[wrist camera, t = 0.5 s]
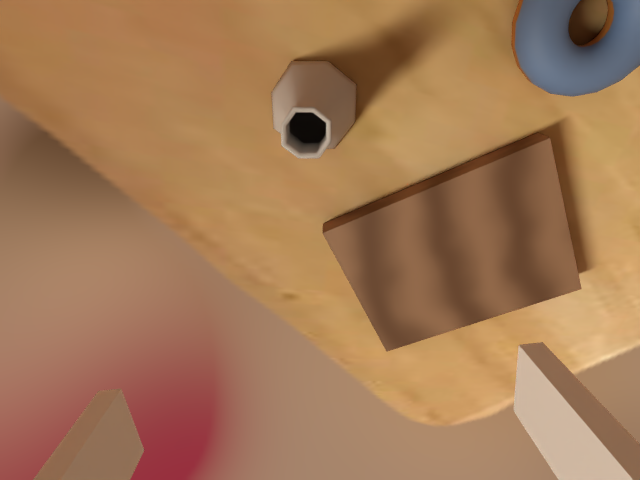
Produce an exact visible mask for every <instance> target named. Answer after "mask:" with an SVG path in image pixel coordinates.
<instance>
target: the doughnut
mask: <svg viewBox="0 0 640 480" xmlns="http://www.w3.org/2000/svg"><path fill="white" fill-rule="evenodd" d="M580 1H581V0H519V3H518V6H517V9H516V12H515V15H514V19H513V22H512V44H511V46H512V49H513V53H514V56H515V60H516V63H517V66H518V67H519V69H520V70H521V71H522V73H523V74H524V75H525V77H526V78H527V79H528V80H529V81H530V82H531V83H533V84H534V85H536V86H538V87H540V88H542V89H543V90H545V91H547V92H549V93H550V94H557V95H564V96H578V95H584V94H589V93H595V92H598V91H600V90H602V89H604V88H606V87H608V86H611V85H613V84H615V83H617V82H619V81H620V80H622V79H623V78H625V77H626V76H627V75H628V74H629V73H631V72H632V71H633V70H634V69H636V68H637V67H638V66H639V65H640V0H607V5H608V14H607V19H606V22H605V24H604V27H603V29H602V30H601V31H600V33H599V34H598V36H596V37H595V38H594V39H593V40H592V41H590V42H589V43H587V44H585V45H581V46H578V45H575V44H574V43H573V42H572V40H571V39H570V37H569V32H568V26H569V19H570V17H571V14H572V11H573V10H574V8H575V7H576V5H577V4H578V3H579V2H580Z"/></svg>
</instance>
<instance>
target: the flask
mask: <svg viewBox="0 0 640 480" xmlns="http://www.w3.org/2000/svg"><path fill="white" fill-rule="evenodd" d="M271 93H272V109H273V125H274V129H275V130H277V131H278V132H279V133H281V142H282V147H284V148H285V149H287V150H288V151H289V152H291V153H292V154H293V155H295V156H296V157H298V158H320V157H321V155H322V154H323V153H324V151H325V150H326V149H334V148H335V147H336V146H337V145H338V143H339V142H340V141H341V139H342V138H343V137H344V135H345V134H346V133H347V131H348V130H349V129H350V128H351V126H352V125H353V124H354V122H355V112H356V84H355V83H354V82H353V81H352V80H350V79H349V78H348V77H347V76H345V75H344V74H343V73H342V72H341V71H339V70H338V69H337V68H336V67H335V66H333V65H332V64H331V63H330V62H329V61H291V63H290V64H289V66H288V67H287V69H286V70H285V72H284V74H283V75H282V77H281V78H280V80H279V81H278V83H277V85H276V86H275V88H274V89H273V91H272V92H271Z"/></svg>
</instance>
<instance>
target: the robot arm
mask: <svg viewBox="0 0 640 480" xmlns="http://www.w3.org/2000/svg"><path fill="white" fill-rule="evenodd" d="M514 412H515V414H516V415H517V417H518V418H519V420H520V421H521V423H522V425H523V426H524V428H525V429H526V431H527V432H528V434H529V435H530V437H531V438H532V440H533V441H534V443H535V445H536V446H537V448H538V449H539V451H540V452H541V454H542V455H543V457H544V458H545V460H546V461H547V463H548V464H549V466H550V468H551V469H552V471H553V472H554V474H555V475H556V477H557V478H558V480H640V444H639V443H638V442H637V441H636V440H635V439H634V437H633V436H632V435H631V434H630V433H629V432H628V431H627V430H626V429H625V428H624V427H623V426H622V425H621V424H620V423H619V422H618V421H617V420H616V419H615V418H614V417H613V416H612V415H611V413H609V411H608V410H607V409H606V408H605V407H604V406H603V405H602V404H601V403H600V402H599V401H598V400H597V399H596V398H595V397H594V396H593V395H592V394H591V393H590V392H589V390H588V389H587V388H586V387H585V386H584V385H583V384H582V383H581V382H580V381H579V380H578V379H577V378H576V377H575V376H574V375H573V374H572V373H571V372H570V371H569V370H568V368H567V367H566V366H565V365H564V364H563V363H562V362H561V361H560V360H559V359H558V358H557V357H556V356H555V355H554V354H553V353H552V352H551V351H550V350H549V349H548V348H547V346H546V345H545V344H544V343H543V342H541V343H532V344H523V345H519V348H518V361H517V374H516V387H515V400H514ZM143 451H144V448H143V446H142V443H141V441H140V438H139V435H138V432H137V430H136V427H135V424H134V422H133V419H132V416H131V414H130V411H129V408H128V406H127V403H126V401H125V398H124V395H123V392H122V390H121V389H114V390H105V391H98V392H97V394H96V395H95V397H94V398H93V399H92V401H91V402H90V403H89V405H88V406H87V407H86V409H85V410H84V412H83V413H82V414H81V416H80V417H79V418H78V420H77V421H76V423H75V424H74V425H73V427H72V428H71V429H70V430H69V432H68V433H67V435H66V436H65V438H64V439H63V440H62V441H61V443H60V444H59V445H58V447H57V448H56V450H55V451H54V452H53V454H52V455H51V456H50V458H49V459H48V460H47V462H46V463H45V465H44V466H43V467H42V469H41V470H40V471H39V473H38V474H37V475H36V477H35V478H34V480H130V479H131V476H132V474H133V472H134V470H135V468H136V466H137V464H138V462H139V460H140V458H141V456H142V454H143Z"/></svg>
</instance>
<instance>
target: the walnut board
mask: <svg viewBox="0 0 640 480" xmlns="http://www.w3.org/2000/svg"><path fill="white" fill-rule="evenodd" d="M323 235H324V237H325V239H326V240H327V242H328V244H329V246H330V248H331V250H332V251H333V253H334V255H335V257H336V259H337V261H338V263H339V264H340V266H341V268H342V270H343V272H344V274H345V275H346V277H347V279H348V281H349V283H350V285H351V287H352V288H353V290H354V292H355V294H356V296H357V298H358V299H359V301H360V303H361V305H362V307H363V309H364V311H365V312H366V314H367V316H368V318H369V320H370V322H371V323H372V325H373V327H374V329H375V331H376V333H377V334H378V336H379V338H380V340H381V342H382V344H383V346H384V347H385V349H386V351H390V350H393V349H396V348H399V347H402V346H405V345H408V344H412V343H415V342H418V341H421V340H424V339H427V338H430V337H433V336H436V335H440V334H443V333H446V332H449V331H452V330H455V329H458V328H461V327H464V326H468V325H471V324H474V323H477V322H480V321H483V320H486V319H489V318H493V317H496V316H499V315H502V314H505V313H508V312H511V311H514V310H517V309H521V308H524V307H527V306H530V305H533V304H536V303H539V302H542V301H545V300H549V299H552V298H555V297H558V296H561V295H564V294H567V293H570V292H573V291H577V290H580V289H581V284H580V279H579V275H578V270H577V265H576V260H575V255H574V251H573V246H572V241H571V236H570V231H569V226H568V222H567V217H566V212H565V207H564V202H563V198H562V193H561V188H560V183H559V178H558V174H557V169H556V164H555V159H554V154H553V150H552V145H551V140H550V138H549V137H547V136H545V135H543V134H541V133H536V134H533V135H531V136H528V137H526V138H524V139H521V140H519V141H517V142H514V143H512V144H510V145H507V146H505V147H503V148H500V149H498V150H496V151H493V152H491V153H488V154H486V155H484V156H481V157H479V158H477V159H474V160H472V161H470V162H467V163H465V164H463V165H460V166H458V167H456V168H453V169H451V170H448V171H446V172H444V173H441V174H439V175H437V176H434V177H432V178H430V179H427V180H425V181H423V182H420V183H418V184H416V185H413V186H411V187H408V188H406V189H404V190H401V191H399V192H397V193H394V194H392V195H390V196H387V197H385V198H383V199H380V200H378V201H376V202H373V203H371V204H368V205H366V206H364V207H361V208H359V209H357V210H354V211H352V212H350V213H347V214H345V215H343V216H340V217H338V218H336V219H333V220H331V221H328V222H326V223H324V224H323Z"/></svg>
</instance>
